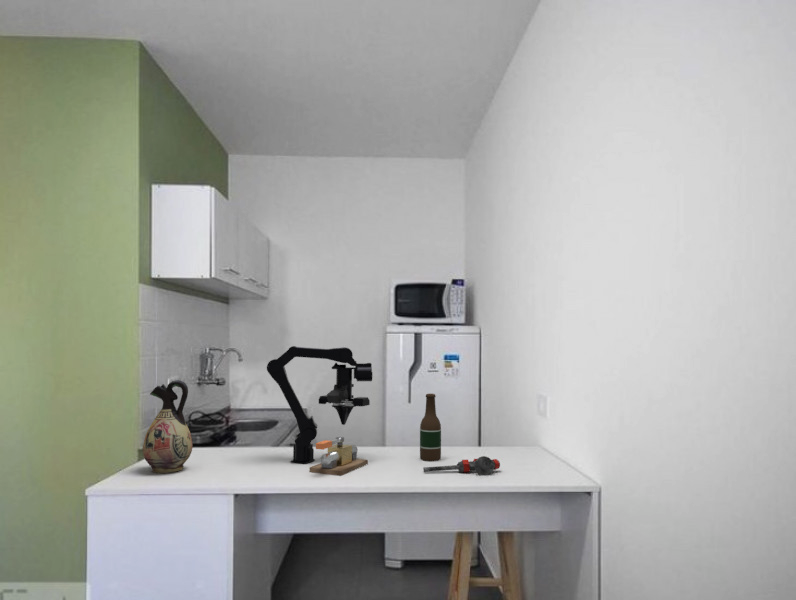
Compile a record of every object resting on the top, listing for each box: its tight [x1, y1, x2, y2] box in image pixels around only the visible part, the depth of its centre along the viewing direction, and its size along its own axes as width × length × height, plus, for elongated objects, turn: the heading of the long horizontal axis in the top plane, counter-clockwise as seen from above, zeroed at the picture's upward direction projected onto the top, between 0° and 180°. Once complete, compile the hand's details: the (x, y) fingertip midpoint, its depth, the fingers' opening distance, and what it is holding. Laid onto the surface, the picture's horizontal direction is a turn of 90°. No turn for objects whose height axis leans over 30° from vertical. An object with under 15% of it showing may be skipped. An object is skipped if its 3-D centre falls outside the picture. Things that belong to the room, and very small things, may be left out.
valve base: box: [309, 442, 369, 476], centre depth 191 cm, size 12×19×9 cm, turn 156°
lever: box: [315, 436, 345, 450], centre depth 186 cm, size 15×3×2 cm, turn 158°
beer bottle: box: [419, 393, 442, 462], centre depth 207 cm, size 8×8×24 cm
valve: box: [422, 455, 501, 476], centre depth 189 cm, size 6×26×15 cm
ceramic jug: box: [142, 379, 193, 474], centre depth 187 cm, size 17×15×30 cm
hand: (343, 424), depth 204 cm, fingers closed
